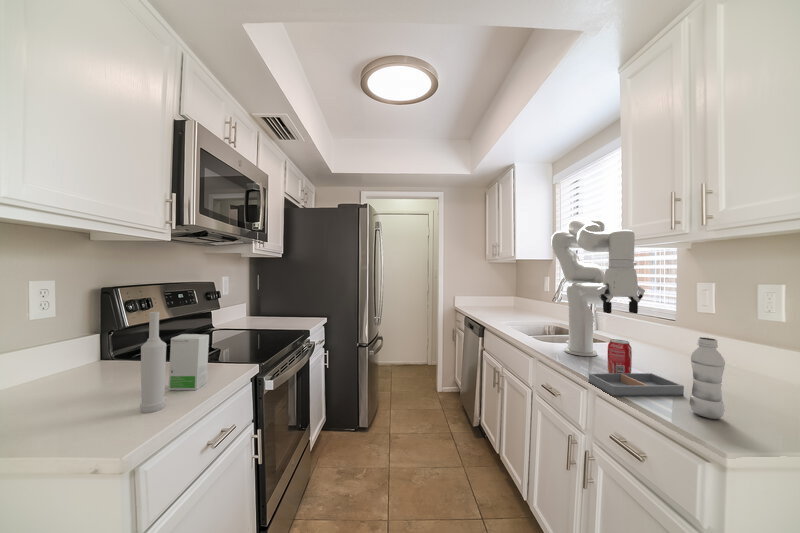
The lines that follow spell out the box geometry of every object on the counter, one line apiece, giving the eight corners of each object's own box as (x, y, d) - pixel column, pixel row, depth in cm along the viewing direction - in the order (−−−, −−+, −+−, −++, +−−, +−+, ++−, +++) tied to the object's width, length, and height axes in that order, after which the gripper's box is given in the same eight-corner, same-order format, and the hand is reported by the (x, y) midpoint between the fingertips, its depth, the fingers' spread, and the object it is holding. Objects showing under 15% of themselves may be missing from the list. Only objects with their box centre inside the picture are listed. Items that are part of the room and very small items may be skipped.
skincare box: (167, 391, 92) (168, 338, 92) (180, 382, 98) (181, 333, 98) (197, 390, 93) (198, 338, 93) (208, 382, 99) (209, 333, 99)
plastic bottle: (716, 413, 82) (717, 337, 82) (730, 425, 76) (731, 343, 76) (684, 408, 85) (685, 335, 85) (696, 419, 78) (697, 340, 78)
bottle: (140, 407, 81) (142, 311, 81) (165, 402, 84) (166, 310, 84) (139, 415, 77) (140, 314, 77) (165, 409, 80) (166, 312, 80)
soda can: (623, 371, 114) (624, 339, 114) (636, 378, 107) (636, 343, 107) (603, 370, 115) (603, 338, 115) (614, 377, 108) (614, 343, 108)
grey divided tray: (588, 382, 103) (588, 373, 103) (651, 382, 104) (651, 373, 104) (613, 396, 92) (613, 386, 92) (683, 396, 93) (683, 386, 93)
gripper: (635, 265, 115) (634, 311, 115) (590, 264, 114) (589, 311, 114) (653, 265, 108) (652, 314, 108) (605, 264, 107) (604, 314, 107)
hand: (620, 312), depth 111 cm, fingers open, 9 cm apart
